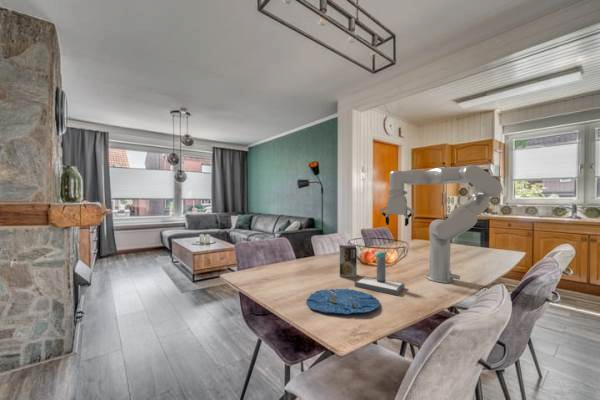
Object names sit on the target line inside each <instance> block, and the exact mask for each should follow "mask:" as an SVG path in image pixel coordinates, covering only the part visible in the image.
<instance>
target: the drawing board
mask: <svg viewBox="0 0 600 400" xmlns="http://www.w3.org/2000/svg"><path fill="white" fill-rule="evenodd" d="M354 287H355V288H360V289H365V290H369V291H374V292H375V291H376V292H379V293H383V294H389V295H393V296H399V295H400V294H401V293H402V292H403V291H404V289H405V283H402V282H398V281H397V282H396V281H393V280H392V281H391V280H387V279H385V283H380V282H377V277H376V278H375V277H372V276H371V277H370V276H365V275H364V276H362V277H361V278H359V279H358V280H356V281H354Z"/></svg>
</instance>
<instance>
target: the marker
mask: <svg viewBox="0 0 600 400" xmlns="http://www.w3.org/2000/svg"><path fill="white" fill-rule="evenodd" d="M386 255H387V254H386V252H385V251H376V279H377V282H380V283H385V280H386Z"/></svg>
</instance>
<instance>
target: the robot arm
mask: <svg viewBox="0 0 600 400" xmlns="http://www.w3.org/2000/svg"><path fill="white" fill-rule="evenodd" d="M466 183H470V184H471V185H472V189H471V192H472V193H471V197H470V198H469V199H468V200H467V201H465V202H464V203H463V204H461V205H460V206H458V207H456V208H454V209H453V210H451V211H450V212H449V214H448V215H447V216H448V217H447V219H442V218H441V219H440V218H438V219H435V220H432V221H431V222H430V224H429V227H428V234H429V273H427V274H426V275H425V277H426V279H427V280H430V281H432V282H436V283H444V284H446V283H447V284H448V283H449V284H450V283H453V282H454V279H455V280H461V275H458V274H456V273H455V274H453V273H452V271H451V240H453V239H455V238H457V237H459V236H460V235H462V234H464V233H465V232H467V231H470V229H471V228H473V227H475V225H476V224H477V222H478V216H479V215H481V214H482V213H484V212H485V211H486V210H487V208H488V206H489V203H490V198H495V197H497V196H499V195H501V194H502V191H503V185H502V183H501V182H500V181H499V180H498V179H496V177H494V176H493V175H491V174H490V173H489V172H487V171H485V170H484V168H481V167H480V166H478V165H476V164H469V165H464V166H449V167H435V168H432V169H428V170H419V171H418V170H417V169H409V170H408V169H407V170H392V171H390V172H389V196H388V197H387V204H386V206H385V207H382V208H381V209H380V212H381V214H382V216H384V218H385V224H386V226H388V225H390V216H391V215H395V216H396V215H397V216H398V215H399V216H404V226H405V227H407V226H408V225H409V223H410V222H409V221H410V220H409V219H410V217H412V216H413V214H414V213H415V209H413V208H410V207H408V201H407V199H408V198H407V194H408V191H405V184H406V185H408V186H411V185H412V186H414V185H415V186H416V185H417V186H418V185H445V184H466ZM385 211H386V212H385ZM408 211H409V212H408ZM408 213H409V214H408Z"/></svg>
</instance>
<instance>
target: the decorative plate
mask: <svg viewBox="0 0 600 400" xmlns="http://www.w3.org/2000/svg"><path fill="white" fill-rule="evenodd" d="M305 303H306V304H307V305H308V308H309V309H311V310H312V311H313V310H314V311H319V312H322V313H328V314H332V313H334V314H339V315H350V314H353V313H354V314H357V313H370V312H371V311H374V310H376V309H379V307H380V306H381V303H380V300H379V299H378V298H376V296H373V295H372V294H368V293H365V292H363V291H360V290H354V289H350V288H331V289H320V290H316V291H315V292H314V293H311V294H310V295H309V297H308V298H307V299H306V301H305Z"/></svg>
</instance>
